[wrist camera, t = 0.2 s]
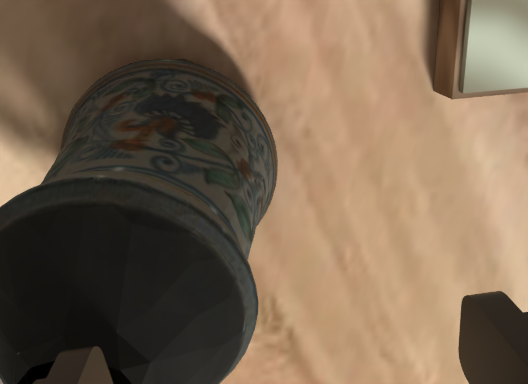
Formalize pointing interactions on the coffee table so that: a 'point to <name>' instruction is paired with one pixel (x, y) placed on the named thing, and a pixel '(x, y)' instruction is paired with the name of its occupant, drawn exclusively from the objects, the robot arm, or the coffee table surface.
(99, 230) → the painted ceramic vase
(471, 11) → the plinth
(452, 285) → the coffee table surface
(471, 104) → the coffee table surface
